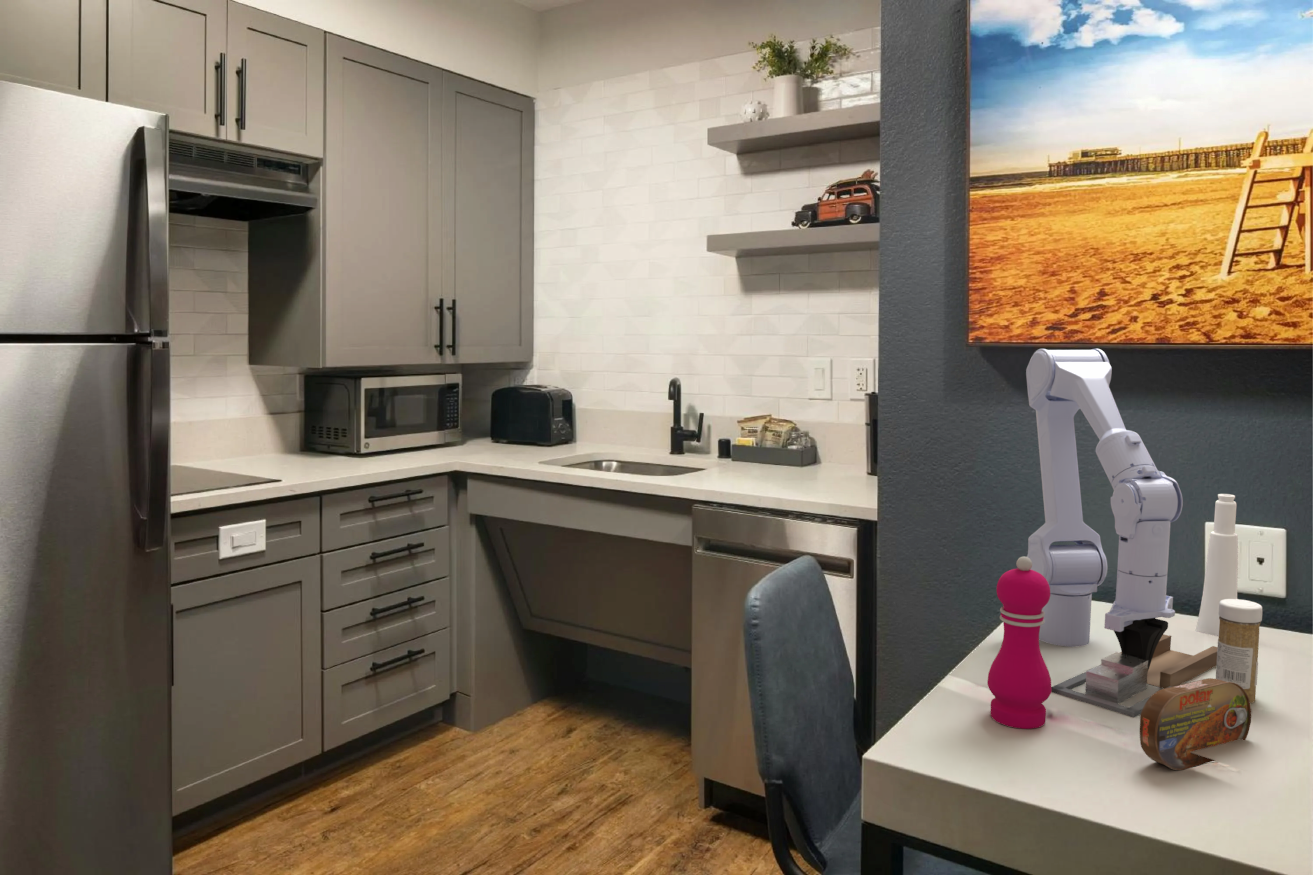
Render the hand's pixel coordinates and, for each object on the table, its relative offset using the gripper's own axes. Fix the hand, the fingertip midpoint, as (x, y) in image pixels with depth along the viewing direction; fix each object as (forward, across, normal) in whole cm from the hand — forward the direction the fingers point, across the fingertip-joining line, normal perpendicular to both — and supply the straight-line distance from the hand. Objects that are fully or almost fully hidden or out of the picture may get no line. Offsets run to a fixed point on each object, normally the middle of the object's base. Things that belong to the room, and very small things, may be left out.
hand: (1136, 674), depth 123 cm
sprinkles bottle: (+3, +4, -10) cm, 11 cm away
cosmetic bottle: (+3, +34, +3) cm, 34 cm away
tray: (+2, -6, 0) cm, 6 cm away
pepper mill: (+3, -20, +5) cm, 20 cm away
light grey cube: (+2, -7, 0) cm, 8 cm away
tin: (+3, -14, -13) cm, 19 cm away
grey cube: (+1, -3, 0) cm, 4 cm away
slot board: (+2, +8, 0) cm, 9 cm away
